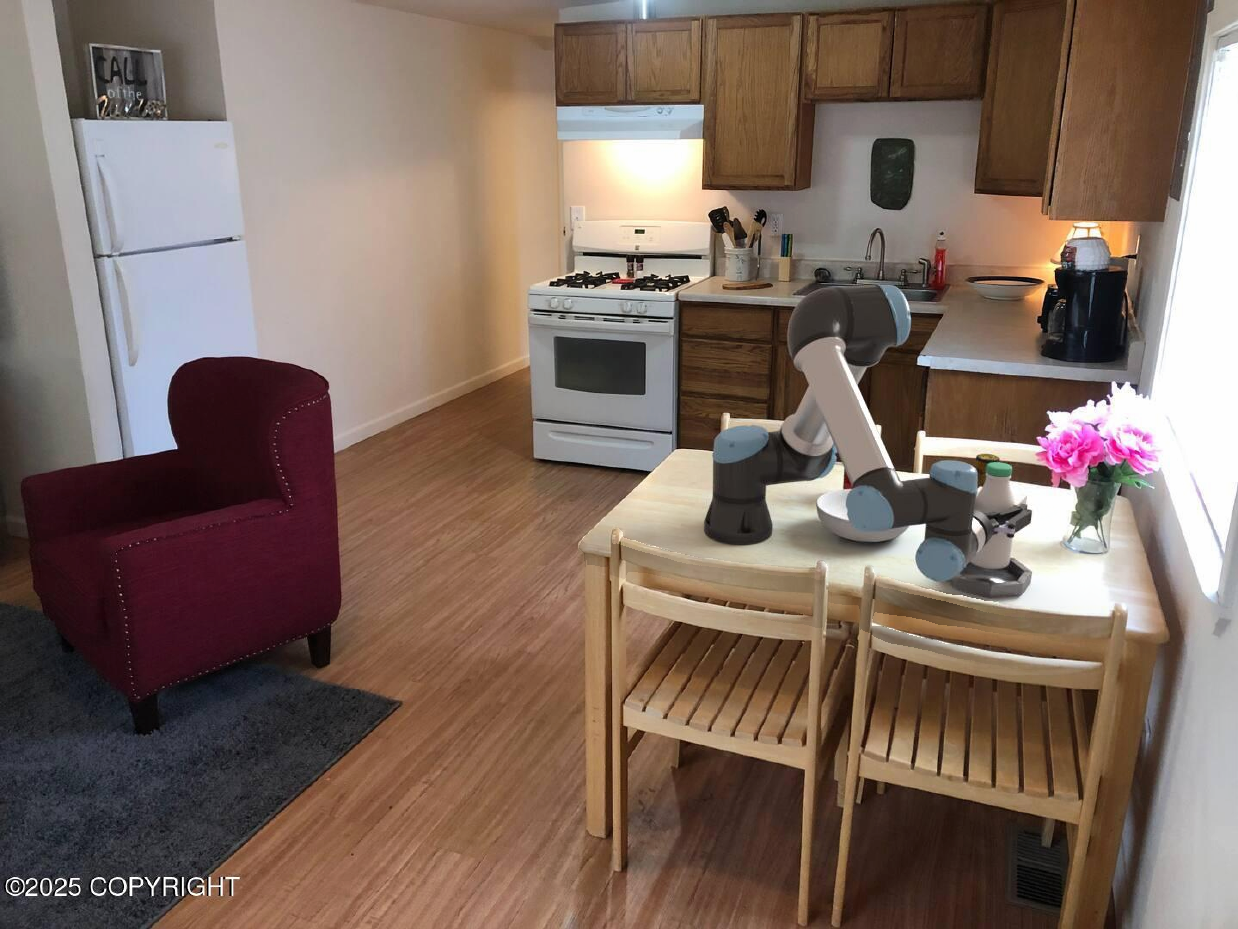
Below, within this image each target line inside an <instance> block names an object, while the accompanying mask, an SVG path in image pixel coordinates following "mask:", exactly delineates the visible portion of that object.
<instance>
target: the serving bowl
mask: <svg viewBox="0 0 1238 929" xmlns="http://www.w3.org/2000/svg"><path fill="white" fill-rule="evenodd" d="M851 490H852V489H844V490H843V489H837V490H831V491H829V492H825V493H824V494H821V495H819V497H817V499H816V501H815V507H816V508H815V509H816V513H817V516H818V519H819V521H820V522H821V524H822V525H823V526H824V527H825V528H826V529H827V530H828V531H830V532H831V533H832V534H834V535H837V536H839V537H842V538H845V539H847V540H851V541H856V542H863V543H864V542H869V543H871V542H873V543H876V542H877V543H878V542H884V541H890V540H893V539H895V538H897V537H899V536H901V535H902V534H904V533H905V532H906V531H907V530H908V529H909V528H910V526H906V527H900V528H893V529H889V530H886V531H871V532H862V531H859V530H857V529H856V528H855V527H853V525H852V524H851V523H850V521H849V519H848V516H847V508H846V498H847V495H848V493H849V492H850V491H851Z"/></svg>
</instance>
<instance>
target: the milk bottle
mask: <svg viewBox="0 0 1238 929" xmlns="http://www.w3.org/2000/svg"><path fill="white" fill-rule="evenodd" d="M1012 473H1013V467H1012V465H1010V464H1008V463H1004V462H1000V461H999V462H992V463H989V464H987V466H986V474H985V475H986V476H987V477H986V481H985V484H984V486H983V487H982V489H981V491H980V492H979V494H978V495H977V497H976V502H975V510H978V511H980V512H982V513H989V512H993V511H995V512H997V513H998V512H1001V511H1004V510H1007V509H1011V508H1013V505H1014V503H1015V502H1016V501H1015V498H1014V495H1013V492H1012V489H1011V484H1010V479H1011V478H1012ZM1013 538H1014V537H1013ZM1013 538H1009V537H1007V534H1004V533H1003V532H999V533H998V534H996V535H992V537H991V539H990V540H989V541H988V543H987V544H986V545H985V546H984V547H983V548H982V549H981V550H980V551H979V552H978V553H977V554H976V555H975V556H974V557H973V558H972V560H971V561H970V562H971V563H972V564H974V565H976V566H979V567H982V568H988V569H1001V568H1005V567H1006V566H1008V564H1009V562H1010V557H1011V555H1012V554H1011V552H1012V546H1013Z"/></svg>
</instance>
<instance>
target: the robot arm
mask: <svg viewBox="0 0 1238 929" xmlns="http://www.w3.org/2000/svg"><path fill="white" fill-rule="evenodd" d="M910 310H911V309H910V306H909V302H908V300H907V298H906V295H905V294H904V293H903V291H902V290H901V289H900V288H898V287H897V286H895V285H892V284H879V283H874V284H866V285H852V286H849V285H848V286H841V287H839V286H836V287H829V286H828V287H823V288H818V289H815V290H813V291H812V292H809V293H808V294H807V295H806V296H804V297H803V298H802V299H801V300H800V301H799V302H798V303H797V305H796V306H795V307H794V309H793V311H792V314H791V315H790V318H789V321H788V326H787V330H786V331H787V339H786V340H787V348H788V351H789V356H790V358H791V361H792V362H793V364H794V367H795V368H796V369H797V371H800V372H803V373H804V376H805V378H806V381H807V383H808V386H807V389H806V391H805V393H804V394H803V395H804V396H803V397H802V400H801V401H800V403H799V405H798V407H797V409H796V411H795V413H793V414H790V415H789V416H787V417H786V418H785V420H783V422H782V424H781V426H780V429H779V430H775V431H768V429H767V428H765V427H763V426H762V425H761V426H760V425H755V424H754V425H753V424H751V425H747V424H744V425H737V426H732V427H729V428H726V429H724V430H722V431H721V432H720V433H718V435H717V436H716V437H715V439H714V442H713V451H712V454H711V455H712V499H711V502H710V503H709V506H708V509H707V512H706V515H705V517H704V521H703V533H704V534H705V535H706V536H707V537H708V538H710V539H711V540H714V541H715V542H718V543H724V544H729V545H752V544H759V543H762V542H765V541H766V540H768V539H769V538H771V537H772V535H773V520H772V517H771V513H770V511H769V507H768V504H767V500H766V498H767V497H766V496H767V494H766V493H767V492H766V491H767V486H773V485H780V484H788V483H789V484H790V483H798V482H810V481H811V482H812V481H815V480H817V479H822V478H824V477H826V476H828V475H829V474H830V473H831V472H832V471H833V469H834V467H835V464H836V462H837V456H836V455H837V454H838V457H839V458H840V461H841V463H842V464H841V465H843V469H844V468H845V471H846V473H847V475H848V478H849V480H850V482H851V485H852V487H853V489H852V490H851V491H850V492H849V493H848V495H847V498H846V508H847V516H848V519H849V521H850V523H851V524H852V525H853V527H855V528H856V529H857V530H859V531H862V532H871V531H886V530H889V529H893V528H900V527H906V526H909V527H911V526H920V525H925V529H924V538H923V541H922V542H921V543H919V546H918V548H917V549H916V552H915V559H914V560H915V564H916V567H917V569H918V570H919V572H920V573H921V574H922V575H923V576H924V577H925V578H927V579H929V580H931V581H934V582H948V581H947V580H950V579H952V578H953V577H954V576H956V575H958V574H959V573H960V572H961V571H962V570H963V569H964V567H965V566H966V565H967V564H968V563H969V562H970V561H971V560H972V558H973V557H974V556H975V555H976V554H977V553H978V552H979V551H980V550H981V549H982V548H983V547H984V546H985V545H986V544H987V543H988V541H989V540H990V539H991V537H992V535H996V534H998V533H999V532H1003V533H1004V534H1007V537H1009V538H1015V534H1016V533H1018V532H1019V531H1021V530H1023V529H1024V528H1025V527H1027V526H1029V525H1030V524H1031V523H1032V514H1033V510H1032V509H1029V508H1028V504H1027V499H1028V495H1027V494H1022V495H1021V496H1020V497H1019V498H1018V499H1017V500H1016V501H1015V503H1014V505H1013V508H1011V509H1007V510H1004V511H1001V512H998V513H997V512H995V511H993V512H989V513H982V512H980V511H978V510H975V502H976V497H977V495H978V494H979V492H980V491H981V489H982V487H979V488H978V489H977V484H978V479H977V470H976V469H975V468H974V465H972V464H969V463H967V462H964V461H960V460H959V461H958V460H949V459H948V460H947V459H946V460H939V461H937V462H935V463H933V464H932V465H931V468H930V471H929V473H928V477H924V478H923V477H922V478H916V479H915V478H914V479H907V480H901V479H900V476H899V475H898V473H897V471H896V468H895V466H894V465H893V462H892V460H891V457H890V456H889V455H890V454H889V453H888V451H887V449H886V446H885V444H884V441H883V439H882V437H881V435H880V433H879V431H878V427H877V426H876V424H875V421H874V419H873V418H872V415H871V413H870V410H869V409H868V406H867V403H866V402H865V400H864V397H863V395H862V392H861V391H860V388H859V386H858V384H859V382H860V381H861V380H862V378H863V376H864V374H865V372H866V370H867V368H870V367H873V366H875V365H876V364H878V363H879V362H880V360H881V359H882V357H883V356H884V353H885V352H886V350H887V349H888V348H889V347H893V348H896V347H898V346H902V345H903V344H904V343H905V342H906V341H907V339H908V338H909V335H910V332H911V325H912V324H911V323H912V318H911V312H910Z"/></svg>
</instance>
